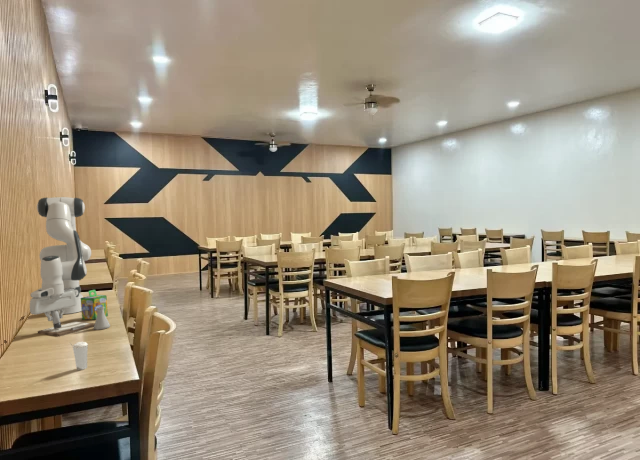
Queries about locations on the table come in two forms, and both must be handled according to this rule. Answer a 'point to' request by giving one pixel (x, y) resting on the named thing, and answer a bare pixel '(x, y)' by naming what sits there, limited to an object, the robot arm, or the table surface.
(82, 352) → the milkshake
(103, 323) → the flask
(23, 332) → the table surface
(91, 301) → the chalk box
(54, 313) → the marker
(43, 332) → the clipboard
